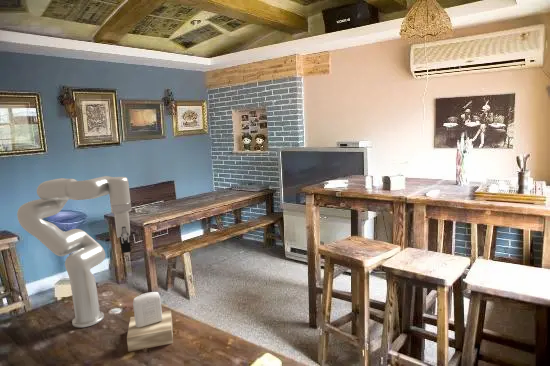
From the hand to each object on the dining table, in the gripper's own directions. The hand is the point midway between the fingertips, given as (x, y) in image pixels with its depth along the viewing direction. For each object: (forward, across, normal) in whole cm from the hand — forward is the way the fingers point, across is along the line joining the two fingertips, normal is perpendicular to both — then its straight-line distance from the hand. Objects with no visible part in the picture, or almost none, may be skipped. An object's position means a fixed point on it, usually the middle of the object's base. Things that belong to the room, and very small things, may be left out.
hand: (125, 248), depth 156 cm
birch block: (+34, +13, +5) cm, 37 cm away
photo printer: (+28, +13, +5) cm, 31 cm away
